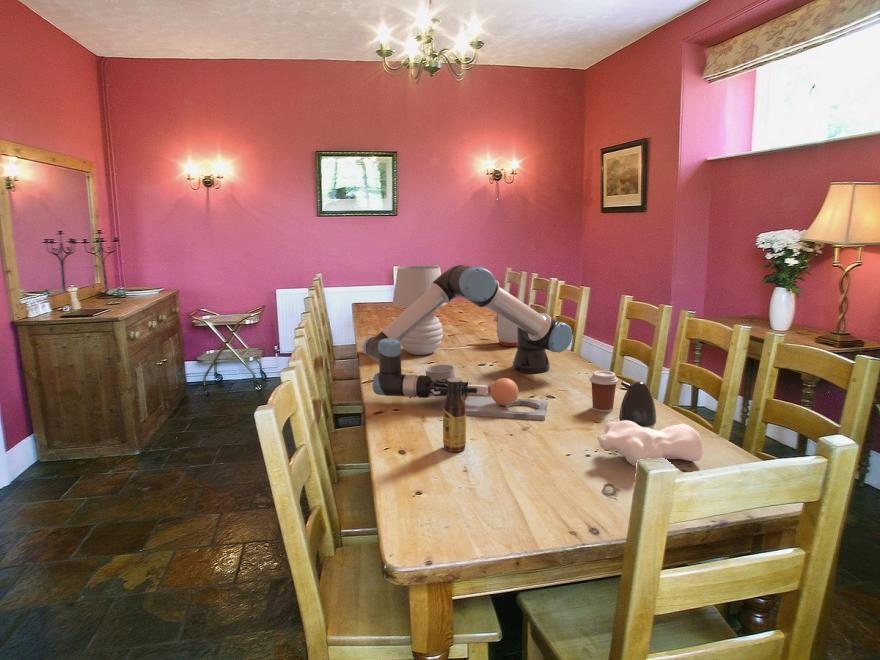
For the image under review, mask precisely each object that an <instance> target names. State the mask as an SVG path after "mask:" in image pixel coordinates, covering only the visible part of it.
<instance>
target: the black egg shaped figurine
mask: <svg viewBox="0 0 880 660" xmlns="http://www.w3.org/2000/svg"><path fill="white" fill-rule="evenodd" d="M620 385H621V386H622V387H624V388H625V389H627V390H626V392H625V394H624V396H623V398H622V401H621V404H620V408H619V414H618V420H619V421H624V420H628V421H632V422H634V423H636V424H638V425H639V426H641V427H644V428H650V429H653V430H654V427H655V425H656V424H657V410H656V404H655V400H654V396H653V393H652V392H651V389H650V387H649V386H648V384H646V383H645V382H643V381H635V382H632V383H631V384H629V383H626V382H625V381H621V382H620Z"/></svg>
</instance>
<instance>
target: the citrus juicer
mask: <svg viewBox="0 0 880 660" xmlns="http://www.w3.org/2000/svg"><path fill="white" fill-rule="evenodd" d="M492 322H496V334H497V339H498V342H499V345H501V346H503V347H517V326H516V325H515V324H513V323H511V322H510V321H508V320H507V319H505V318H504V317H502V316H500V315H499V314H497V313H496V316H495V317H494V318H493V320H492Z"/></svg>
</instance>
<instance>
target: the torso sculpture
mask: <svg viewBox="0 0 880 660" xmlns="http://www.w3.org/2000/svg"><path fill="white" fill-rule="evenodd" d="M603 429H604V434H603V435H598V436H597V441H598V443H599V447H600V448H601V449H603V450H606V451H612V450H616V452H617V453H618V454H619V455H620V456H621V457H623V458H625V459H626V462H628V463H629V464H630V465H632V466H634V467H636V463H637V460H640V459H647V458H660V457H663V458H666V459H665V460H683V461H689V462H699V461H701V460H702V458H703V453H704V452H703V443H702V438H701V435H700V434H699V433H698V431H697V430H695V429H694V428H693V427H692V426H690V425H688V424H685V423H683V422H682V423H678V424H675V425H670V426H668V425H667V426H666V427H664V428H662V429H660V430H656V429H654V428H653V429H650V428H644V427H641V426H639V425H638V424H636V423H634V422H632V421H628V420H624V421H620V420H619V421H614V420H613V421H609V422H607V423H606V424H605V425H604V427H603Z"/></svg>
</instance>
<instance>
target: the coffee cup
mask: <svg viewBox="0 0 880 660" xmlns="http://www.w3.org/2000/svg"><path fill="white" fill-rule="evenodd" d="M588 378H589V380H588V381H589V382H590V383H591V398H592V400H591V401H592V402H591V403H592V409H593V410H594V411H596V412H599V413H611V412H613V411H614V404H615V395H616V388H617V384H618V383H619V382H620V381H619V378H618V377H617V376H616V373H615V372H613V371H611V370H610V371H608V370H596V371H593V372H592V375H590V377H588Z"/></svg>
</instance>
